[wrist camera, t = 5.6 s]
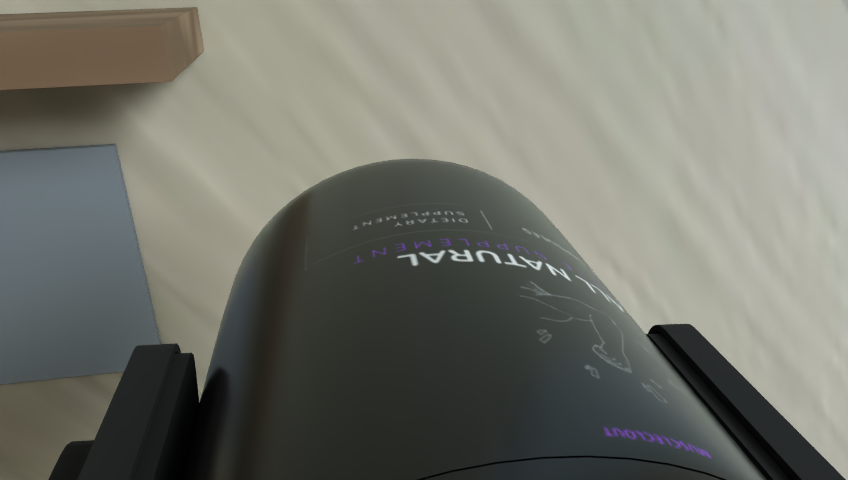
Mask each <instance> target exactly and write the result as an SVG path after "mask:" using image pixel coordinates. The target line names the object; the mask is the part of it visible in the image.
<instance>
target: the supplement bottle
mask: <svg viewBox="0 0 848 480" xmlns="http://www.w3.org/2000/svg"><path fill="white" fill-rule="evenodd" d="M179 480H767V479H766V478H765V477H764V476H763V475H762V473H761V472H760V471H759V470H758V469H757V467H756V466H755V465H754V464H753V463H752V461H751V460H750V459H749V458H748V457H747V455H746V454H745V453H744V452H743V451H742V449H741V448H740V447H739V446H738V445H737V443H736V442H735V441H734V440H733V439H732V437H731V436H730V435H729V434H728V433H727V431H726V430H725V429H724V428H723V427H722V425H721V424H720V423H719V422H718V421H717V419H716V418H715V417H714V416H713V415H712V413H711V412H710V411H709V410H708V409H707V407H706V406H705V405H704V404H703V403H702V401H701V400H700V399H699V398H698V397H697V395H696V394H695V393H694V392H693V391H692V389H691V388H690V387H689V386H688V385H687V383H686V382H685V381H684V380H683V379H682V377H681V376H680V375H679V374H678V373H677V371H676V370H675V369H674V368H673V367H672V365H671V364H670V363H669V362H668V361H667V359H666V358H665V357H664V356H663V355H662V353H661V352H660V351H659V350H658V349H657V347H656V346H655V345H654V344H653V343H652V341H651V340H650V339H649V338H648V337H647V335H646V334H645V333H644V332H643V331H642V329H641V328H640V327H639V326H638V325H637V323H636V322H635V321H634V320H633V319H632V317H631V316H630V315H629V314H628V313H627V311H626V310H625V309H624V308H623V307H622V305H621V304H620V303H619V302H618V301H617V299H616V298H615V297H614V296H613V295H612V293H611V292H610V291H609V290H608V288H607V287H606V286H605V285H604V284H603V282H602V281H601V280H600V279H599V278H598V276H597V275H596V274H595V273H594V272H593V270H592V269H591V268H590V267H589V266H588V264H587V263H586V262H585V261H584V260H583V258H582V257H581V256H580V255H579V254H578V252H577V251H576V250H575V249H574V248H573V246H572V245H571V244H570V243H569V242H568V240H567V239H566V238H565V237H564V236H563V235H562V233H561V232H560V231H559V230H558V229H557V228H556V227H555V226H554V225H553V223H552V222H551V221H550V220H549V219H548V218H547V217H546V215H545V214H544V213H543V212H542V211H541V210H540V209H538V208H537V207H536V206H535V205H534V204H533V203H532V202H531V201H530V200H529V199H527V198H526V197H525V196H524V195H522V194H521V193H520V192H518V191H517V190H516V189H514V188H513V187H511V186H509V185H508V184H506V183H504V182H503V181H501V180H499V179H497V178H495V177H493V176H491V175H489V174H487V173H485V172H482V171H479V170H476V169H473V168H470V167H468V166H463V165H459V164H455V163H451V162H444V161H437V160H428V159H400V160H389V161H382V162H376V163H371V164H367V165H363V166H359V167H356V168H353V169H350V170H347V171H344V172H341V173H339V174H337V175H334V176H332V177H330V178H328V179H326V180H323V181H321V182H320V183H318V184H316V185H315V186H313V187H311V188H309V189H308V190H306V191H304V192H303V193H302V194H300V195H299V196H298V197H296V198H295V199H293V200H292V201H291V202H289V203H288V204H287V205H286V206H285V207H284V208H283V209H281V210H280V211H279V212H278V213H277V214H276V215H275V216H274V217H273V218H272V219H271V220H270V221H269V222H268V224H267V225H266V226H265V227H264V228H263V229H262V231H261V232H260V233H259V235H258V236H257V237H256V239H255V240H254V241H253V243H252V245H251V247H250V248H249V250H248V252H247V253H246V255H245V257H244V259H243V261H242V263H241V266H240V268H239V270H238V272H237V274H236V277H235V280H234V283H233V286H232V289H231V292H230V295H229V299H228V302H227V305H226V308H225V311H224V314H223V318H222V321H221V325H220V329H219V332H218V336H217V340H216V344H215V347H214V351H213V355H212V358H211V362H210V366H209V370H208V373H207V377H206V381H205V385H204V388H203V392H202V396H201V399H200V403H199V407H198V411H197V414H196V418H195V422H194V425H193V429H192V433H191V437H190V440H189V444H188V448H187V451H186V455H185V459H184V463H183V466H182V470H181V474H180V477H179Z"/></svg>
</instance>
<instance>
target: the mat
mask: <svg viewBox="0 0 848 480" xmlns="http://www.w3.org/2000/svg"><path fill="white" fill-rule="evenodd" d="M156 344H161V342H160V338H159V333H158V329H157V324H156V320H155V315H154V311H153V307H152V302H151V298H150V293H149V289H148V284H147V280H146V275H145V271H144V267H143V262H142V258H141V253H140V249H139V244H138V240H137V236H136V231H135V227H134V222H133V218H132V213H131V209H130V205H129V200H128V196H127V191H126V187H125V182H124V178H123V174H122V169H121V165H120V160H119V156H118V151H117V147H116V144H106V145H89V146H73V147H57V148H41V149H24V150H8V151H0V385H1V384H11V383H20V382H30V381H39V380H49V379H58V378H68V377H78V376H87V375H97V374H106V373H116V372H124V371H125V369H126V366H127V364H128V362H129V359H130V357H131V355H132V352H133V350H134V349H135V347H136V346H138V345H156Z"/></svg>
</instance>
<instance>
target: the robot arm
mask: <svg viewBox="0 0 848 480" xmlns="http://www.w3.org/2000/svg"><path fill="white" fill-rule="evenodd" d="M646 335H647V337H648V338H649V339H650V340H651V341H652V343H653V344H654V345H655V346H656V347H657V349H658V350H659V351H660V352H661V353H662V355H663V356H664V357H665V358H666V359H667V361H668V362H669V363H670V364H671V365H672V367H673V368H674V369H675V370H676V371H677V373H678V374H679V375H680V376H681V377H682V379H683V380H684V381H685V382H686V383H687V385H688V386H689V387H690V388H691V389H692V391H693V392H694V393H695V394H696V395H697V397H698V398H699V399H700V400H701V401H702V403H703V404H704V405H705V406H706V407H707V409H708V410H709V411H710V412H711V413H712V415H713V416H714V417H715V418H716V419H717V421H718V422H719V423H720V424H721V425H722V427H723V428H724V429H725V430H726V431H727V433H728V434H729V435H730V436H731V437H732V439H733V440H734V441H735V442H736V443H737V445H738V446H739V447H740V448H741V449H742V451H743V452H744V453H745V454H746V455H747V457H748V458H749V459H750V460H751V461H752V463H753V464H754V465H755V466H756V467H757V469H758V470H759V471H760V472H761V473H762V475H763V476H764V477H765V478H766V479H767V480H845V479H844V478H843V477H842V476H841V475H840V474H839V473H838V472H837V471H836V469H835V468H834V467H833V466H832V465H831V464H830V463H829V462H828V461H827V460H826V459H825V458H824V457H823V456H822V455H821V454H820V453H819V452H818V451H817V450H816V449H815V448H814V447H813V446H812V445H811V444H810V443H809V442H808V441H807V440H806V439H805V438H804V437H803V436H802V435H801V434H800V433H799V432H798V431H797V430H796V429H795V428H794V427H793V426H792V425H791V424H790V423H789V422H788V421H787V420H786V419H785V418H784V417H783V416H782V415H781V414H780V413H779V412H778V411H777V410H776V409H775V408H774V407H773V406H772V405H771V404H770V403H769V402H768V401H767V400H766V399H765V398H764V397H763V396H762V395H761V394H760V393H759V392H758V391H757V390H756V389H755V388H754V387H753V386H752V385H751V384H750V383H749V382H748V381H747V380H746V379H745V378H744V377H743V376H742V375H741V374H740V373H739V372H738V371H737V370H736V369H735V368H734V367H733V366H732V365H731V364H730V363H729V362H728V361H727V360H726V359H725V358H724V357H723V356H722V355H721V354H720V353H719V352H718V351H717V350H716V349H715V348H714V347H713V346H712V345H711V344H710V343H709V342H708V341H707V340H706V339H705V338H704V337H703V336H702V335H701V334H700V333H699V332H698V331H697V330H696V329H695V328H694V327H693V326H692V325H690V324H669V325H655V326H653V327H652V328H651V329H650V330H649V333H648V334H646ZM198 407H199V396H198V387H197V378H196V368H195V360H194V356H193V354H192V353H181V351H180V348H179V345H178V344H156V345H138V346H136V347H135V349H134V350H133V352H132V355H131V357H130V359H129V362H128V364H127V366H126V369H125V371H124V373H123V375H122V378H121V380H120V382H119V385H118V387H117V389H116V392H115V394H114V396H113V399H112V401H111V403H110V405H109V408H108V410H107V412H106V415H105V417H104V419H103V422H102V424H101V426H100V428H99V431H98V433H97V435H96V438H95V440H91V441H74V442H71V443H69V444H68V445H66V447H65V448H64V450H63V452H62V453H61V455H60V457H59V459H58V461H57V463H56V465H55V467H54V469H53V471H52V473H51V475H50V477H49V480H179V477H180V474H181V470H182V466H183V463H184V459H185V455H186V451H187V448H188V444H189V440H190V437H191V433H192V429H193V425H194V422H195V418H196V414H197V411H198Z"/></svg>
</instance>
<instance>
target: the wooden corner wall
mask: <svg viewBox="0 0 848 480" xmlns="http://www.w3.org/2000/svg"><path fill="white" fill-rule="evenodd" d="M203 51H204V48H203V41H202V35H201V29H200V23H199V16H198V10H197V7H194V8H167V9H139V10H112V11H84V12H57V13H29V14H2V15H0V90H10V89H30V88H50V87H70V86H90V85H110V84H130V83H150V82H169V81H172V80H173V79H175V78H176V77H177V76H178V75H179V74H180V73H181V72H182V71H183V70H184V69H185V68H186V67H187V66H188V65H189V64H191V63H192V62H193V61H194V60H195V59H196V58H197V57H198V56H199V55H200V54H201V53H202V52H203Z"/></svg>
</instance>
